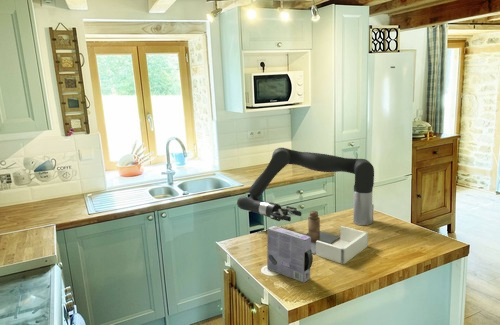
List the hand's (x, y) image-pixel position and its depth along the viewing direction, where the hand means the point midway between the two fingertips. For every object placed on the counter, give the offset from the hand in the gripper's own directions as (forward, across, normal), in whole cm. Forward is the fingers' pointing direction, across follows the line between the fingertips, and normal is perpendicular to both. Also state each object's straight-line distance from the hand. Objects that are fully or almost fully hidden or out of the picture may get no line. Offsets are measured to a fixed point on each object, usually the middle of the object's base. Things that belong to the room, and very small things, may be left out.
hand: (295, 216), depth 178 cm
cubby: (+24, 0, +11) cm, 27 cm away
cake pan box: (+18, -30, +11) cm, 36 cm away
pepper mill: (+10, 0, +10) cm, 14 cm away
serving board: (+10, 0, +11) cm, 15 cm away
